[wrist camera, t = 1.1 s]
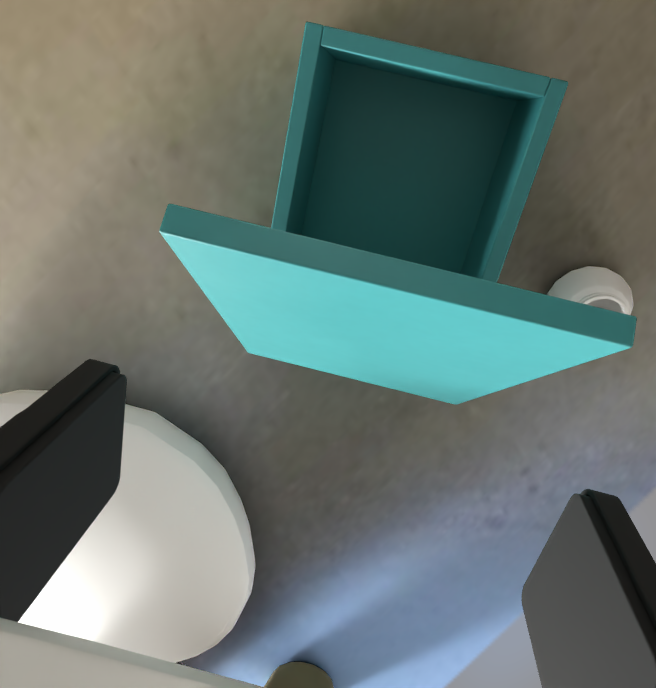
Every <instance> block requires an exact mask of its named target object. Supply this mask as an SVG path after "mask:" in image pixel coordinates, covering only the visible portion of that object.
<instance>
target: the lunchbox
mask: <svg viewBox="0 0 656 688" xmlns="http://www.w3.org/2000/svg"><path fill="white" fill-rule="evenodd" d="M567 86H568V82H567V81H564V80H560V79H555V78H549V77H547V76H542V75H538V74H534V73H529V72H525V71H520V70H516V69H512V68H507V67H503V66H499V65H494V64H490V63H486V62H481V61H477V60H473V59H468V58H464V57H459V56H455V55H451V54H446V53H442V52H438V51H433V50H429V49H425V48H420V47H416V46H412V45H407V44H403V43H398V42H394V41H390V40H385V39H381V38H377V37H372V36H368V35H364V34H359V33H355V32H350V31H346V30H342V29H337V28H333V27H329V26H323V25H320V24H316V23H311V22H306V24H305V30H304V36H303V42H302V48H301V54H300V60H299V66H298V72H297V78H296V84H295V90H294V95H293V101H292V107H291V113H290V119H289V125H288V131H287V137H286V143H285V149H284V155H283V161H282V167H281V173H280V178H279V184H278V190H277V196H276V202H275V208H274V214H273V220H272V226H271V228H273V229H277V230H281V231H285V232H290V233H294V234H298V235H302V236H306V237H310V238H314V239H318V240H323V241H327V242H331V243H335V244H339V245H343V246H347V247H351V248H355V249H360V250H364V251H368V252H372V253H376V254H380V255H384V256H388V257H393V258H397V259H401V260H405V261H409V262H413V263H417V264H421V265H426V266H430V267H434V268H438V269H442V270H446V271H450V272H454V273H459V274H463V275H467V276H471V277H475V278H479V279H483V280H487V281H492V282H496V283H497V281H498V278H499V275H500V273H501V270H502V267H503V264H504V261H505V259H506V256H507V253H508V250H509V248H510V245H511V242H512V239H513V236H514V234H515V231H516V228H517V225H518V222H519V220H520V217H521V214H522V211H523V209H524V206H525V203H526V200H527V197H528V195H529V192H530V189H531V186H532V184H533V181H534V178H535V175H536V172H537V170H538V167H539V164H540V161H541V158H542V156H543V153H544V150H545V147H546V145H547V142H548V139H549V136H550V133H551V131H552V128H553V125H554V122H555V120H556V117H557V114H558V111H559V108H560V106H561V103H562V100H563V97H564V95H565V92H566V89H567Z"/></svg>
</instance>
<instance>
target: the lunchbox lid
mask: <svg viewBox="0 0 656 688" xmlns="http://www.w3.org/2000/svg"><path fill="white" fill-rule="evenodd" d="M160 233H161V235H162V236H163V237H164V239H165V240H166V241H167V243H168V244H169V246H170V247H171V248H172V250H173V251H174V252H175V254H176V255H177V256H178V258H179V259H180V260H181V262H182V263H183V265H184V266H185V267H186V269H187V270H188V271H189V273H190V274H191V275H192V277H193V278H194V280H195V281H196V282H197V284H198V285H199V286H200V288H201V289H202V290H203V292H204V293H205V295H206V296H207V297H208V299H209V300H210V301H211V303H212V304H213V305H214V307H215V308H216V309H217V311H218V312H219V314H220V315H221V316H222V318H223V319H224V320H225V322H226V323H227V324H228V326H229V327H230V329H231V330H232V331H233V333H234V334H235V335H236V337H237V338H238V339H239V341H240V342H241V343H242V345H243V346H244V348H245V349H246V350H247V352H248V353H252V354H256V355H260V356H264V357H268V358H272V359H276V360H280V361H284V362H288V363H292V364H296V365H300V366H304V367H308V368H312V369H316V370H320V371H324V372H328V373H332V374H336V375H340V376H344V377H348V378H352V379H356V380H360V381H364V382H367V383H371V384H375V385H379V386H383V387H387V388H391V389H395V390H399V391H403V392H407V393H411V394H415V395H419V396H423V397H427V398H431V399H435V400H439V401H443V402H447V403H451V404H455V405H456V404H459V403H463V402H466V401H469V400H472V399H475V398H478V397H481V396H484V395H487V394H490V393H493V392H496V391H499V390H503V389H506V388H509V387H512V386H515V385H518V384H521V383H524V382H527V381H530V380H533V379H536V378H539V377H542V376H546V375H549V374H552V373H555V372H558V371H561V370H564V369H567V368H570V367H573V366H576V365H579V364H582V363H585V362H589V361H592V360H595V359H598V358H601V357H604V356H607V355H610V354H613V353H616V352H619V351H622V350H625V349H628V348H631V347H632V346H633V342H634V335H635V328H636V321H637V318H636V317H635V316H632V315H628V314H623V313H619V312H615V311H611V310H607V309H603V308H599V307H595V306H591V305H586V304H582V303H578V302H574V301H570V300H566V299H562V298H558V297H553V296H549V295H545V294H541V293H537V292H533V291H529V290H525V289H520V288H516V287H512V286H508V285H504V284H500V283H496V282H492V281H487V280H483V279H479V278H475V277H471V276H467V275H463V274H459V273H454V272H450V271H446V270H442V269H438V268H434V267H430V266H426V265H421V264H417V263H413V262H409V261H405V260H401V259H397V258H393V257H388V256H384V255H380V254H376V253H372V252H368V251H364V250H360V249H355V248H351V247H347V246H343V245H339V244H335V243H331V242H327V241H323V240H318V239H314V238H310V237H306V236H302V235H298V234H294V233H290V232H285V231H281V230H277V229H273V228H269V227H265V226H261V225H257V224H252V223H248V222H244V221H240V220H236V219H232V218H228V217H224V216H219V215H215V214H211V213H207V212H203V211H199V210H195V209H191V208H186V207H182V206H178V205H174V204H168V206H167V209H166V212H165V215H164V218H163V221H162V224H161V227H160Z"/></svg>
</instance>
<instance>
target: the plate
mask: <svg viewBox="0 0 656 688" xmlns="http://www.w3.org/2000/svg"><path fill="white" fill-rule="evenodd" d="M47 391H49V390H17V391H12V392H7V393H3V394H0V427H1V426H3V425H4V424H5V423H6V422H8V421H9V420H10V419H11V418H13V417H14V416H15V415H16V414H18V413H20V412H21V411H23V410H25V409H26V408H27V407H29V406H30V405H31V404H32V403H34V402H35V401H36V400H37V399H39V398H40V397H41V396H42V395H44V394H45V393H46V392H47ZM255 566H256V565H255V556H254V550H253V543H252V537H251V530H250V524H249V521H248V518H247V515H246V512H245V509H244V506H243V504H242V501H241V498H240V496H239V494H238V492H237V491H236V489H235V487H234V485H233V483H232V481H231V479H230V477H229V475H228V473H227V472H226V470H225V468H224V467H223V466H222V465H221V464H220V463H219V462H218V461H217V460H216V458H215V457H214V456H213V455H212V454H211V453H210V452H209V451H208V450H207V449H206V448H205V447H204V446H203V444H201V443H200V442H198V441H197V440H196V439H194V438H193V437H191V436H190V435H188V434H187V433H185V432H184V431H182V430H181V429H179V428H178V427H176V426H175V425H173V424H172V423H171V422H169V421H168V420H166V419H165V418H163V417H162V416H160V415H159V414H157V413H156V412H153V411H150V410H146V409H142V408H138V407H135V406H131V405H127V404H125V414H124V429H123V443H122V458H121V473H120V481H119V484H118V487H117V489H116V491H115V493H114V495H113V496H112V497H111V499H110V500H109V501H108V503H107V504H106V505H105V507H104V508H103V509H102V511H101V512H100V513H99V515H98V516H97V517H96V519H95V520H94V521H93V523H92V524H91V525H90V527H89V528H88V529H87V531H86V532H85V533H84V535H83V536H82V537H81V539H80V540H79V541H78V543H77V544H76V545H75V547H74V548H73V549H72V551H71V552H70V553H69V555H68V556H67V557H66V559H65V560H64V561H63V563H62V564H61V565H60V567H59V568H58V569H57V571H56V572H55V574H54V575H53V576H52V578H51V579H50V580H49V582H48V583H47V584H46V586H45V587H44V588H43V590H42V591H41V592H40V594H39V595H38V596H37V598H36V599H35V600H34V602H33V603H32V604H31V606H30V607H29V608H28V610H27V611H26V612H25V614H24V615H23V616H22V618H21V619H20V620H19V623H23V624H27V625H31V626H35V627H39V628H43V629H47V630H51V631H55V632H59V633H63V634H67V635H71V636H75V637H79V638H83V639H87V640H91V641H94V642H98V643H102V644H105V645H109V646H113V647H117V648H120V649H124V650H128V651H132V652H135V653H139V654H143V655H146V656H150V657H154V658H158V659H161V660H165V661H169V662H172V663H176V662H179V661H183V660H186V659H189V658H192V657H195V656H198V655H200V654H201V653H203V652H205V651H207V650H208V649H210V648H212V647H214V646H216V645H217V644H218V643H219V642H220V641H221V640H222V639H223V638H224V637H225V636H226V635H227V634H228V633H229V632H230V631H231V630H232V629H233V627H234V626H235V624H236V622H237V620H238V618H239V616H240V614H241V612H242V610H243V608H244V606H245V604H246V602H247V600H248V599H249V597H250V595H251V591H252V586H253V580H254V573H255Z"/></svg>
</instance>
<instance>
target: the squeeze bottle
mask: <svg viewBox="0 0 656 688" xmlns="http://www.w3.org/2000/svg"><path fill="white" fill-rule="evenodd" d="M264 687H265V688H334V687H333V683H332V679H331V678H330V677H329V676H328V675H327V673H326V672H325V671H323V670H322V669H320V668H318V667H317V666H315V665H312V664H308V663H304V662H289V663H286V664H283V665H280V666H279V667H278V668H277V669H276V670H275V671H274V672H273V673H272V675H271V677H270V678H269V680H268V681H267V683H266V685H265V686H264Z"/></svg>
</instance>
